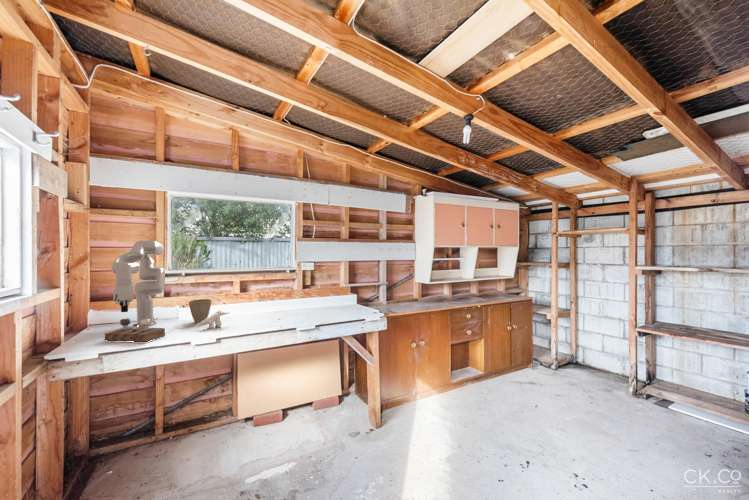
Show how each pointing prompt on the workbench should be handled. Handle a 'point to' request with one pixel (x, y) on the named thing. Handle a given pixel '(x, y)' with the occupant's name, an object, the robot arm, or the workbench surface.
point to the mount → (135, 334)
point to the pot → (135, 327)
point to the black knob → (125, 323)
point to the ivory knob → (145, 324)
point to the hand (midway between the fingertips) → (124, 311)
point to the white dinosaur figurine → (213, 319)
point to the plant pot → (200, 309)
